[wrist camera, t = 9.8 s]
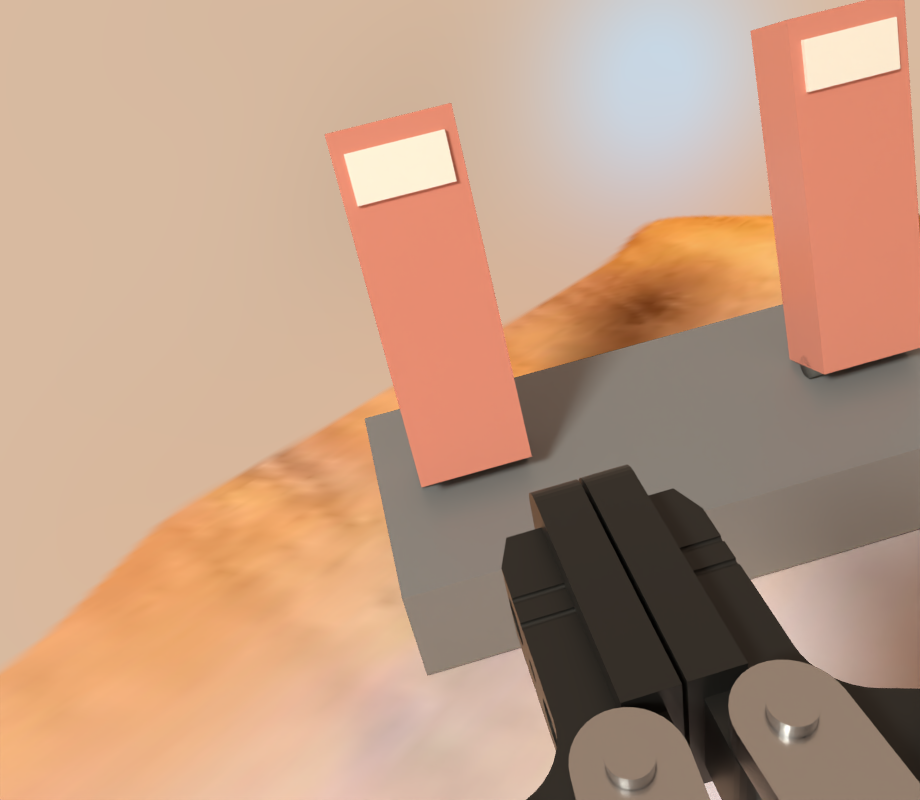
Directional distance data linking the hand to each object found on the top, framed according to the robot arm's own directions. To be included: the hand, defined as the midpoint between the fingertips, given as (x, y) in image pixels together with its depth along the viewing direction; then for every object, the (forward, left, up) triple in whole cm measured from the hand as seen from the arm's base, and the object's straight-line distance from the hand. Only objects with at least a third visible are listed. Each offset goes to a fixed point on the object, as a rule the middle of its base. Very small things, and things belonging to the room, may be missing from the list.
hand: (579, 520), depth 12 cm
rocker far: (-15, -15, -10) cm, 23 cm away
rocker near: (0, -15, -10) cm, 18 cm away
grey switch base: (-7, -15, -15) cm, 22 cm away
